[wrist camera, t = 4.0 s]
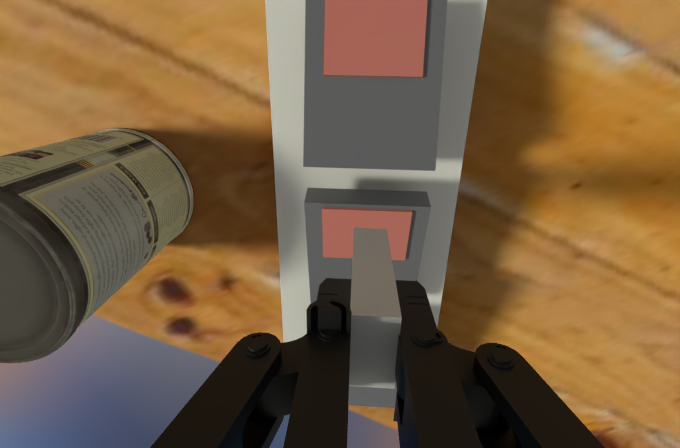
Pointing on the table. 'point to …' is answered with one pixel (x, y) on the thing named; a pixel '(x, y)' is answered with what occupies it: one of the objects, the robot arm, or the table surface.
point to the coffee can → (80, 230)
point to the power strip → (294, 179)
